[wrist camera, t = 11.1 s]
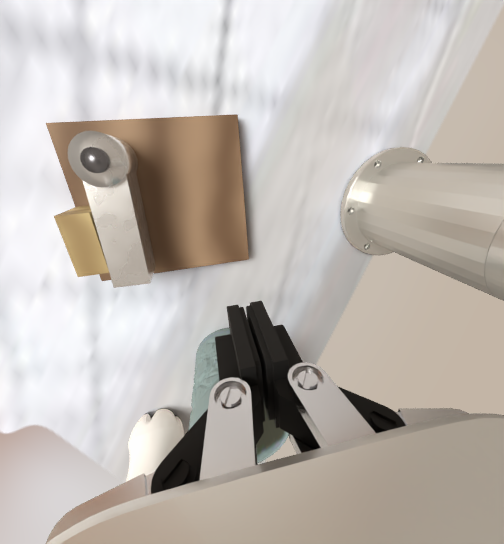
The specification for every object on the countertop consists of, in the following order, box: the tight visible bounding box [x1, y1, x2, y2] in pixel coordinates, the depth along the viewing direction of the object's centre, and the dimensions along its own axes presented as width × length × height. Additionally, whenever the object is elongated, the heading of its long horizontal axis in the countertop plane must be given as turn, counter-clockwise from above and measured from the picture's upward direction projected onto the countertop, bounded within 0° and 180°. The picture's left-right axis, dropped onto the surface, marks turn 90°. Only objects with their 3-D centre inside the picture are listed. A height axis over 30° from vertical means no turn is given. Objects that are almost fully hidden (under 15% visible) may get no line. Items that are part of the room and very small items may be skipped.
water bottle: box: [126, 409, 184, 482], centre depth 26 cm, size 7×7×25 cm
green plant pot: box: [189, 328, 289, 463], centre depth 30 cm, size 10×10×12 cm
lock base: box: [46, 115, 249, 281], centre depth 23 cm, size 15×14×6 cm
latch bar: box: [68, 131, 156, 288], centre depth 21 cm, size 12×4×5 cm, turn 2°
